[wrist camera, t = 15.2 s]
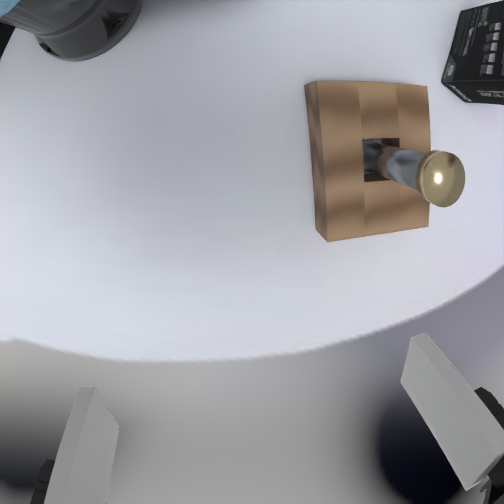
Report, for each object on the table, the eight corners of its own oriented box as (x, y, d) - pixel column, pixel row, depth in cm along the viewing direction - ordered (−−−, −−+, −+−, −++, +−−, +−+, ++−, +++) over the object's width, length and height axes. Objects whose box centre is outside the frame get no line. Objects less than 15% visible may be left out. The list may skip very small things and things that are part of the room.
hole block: (304, 85, 37) (316, 80, 32) (407, 87, 38) (427, 86, 33) (315, 229, 45) (327, 242, 40) (410, 216, 46) (428, 226, 41)
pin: (347, 137, 40) (425, 152, 24) (380, 136, 41) (465, 152, 24) (349, 174, 42) (424, 209, 26) (381, 172, 43) (463, 205, 26)
